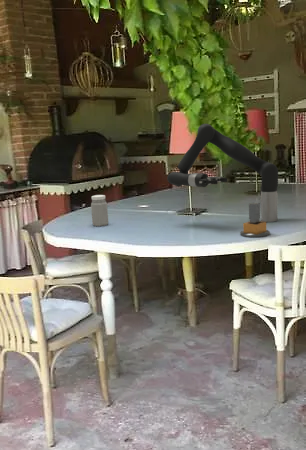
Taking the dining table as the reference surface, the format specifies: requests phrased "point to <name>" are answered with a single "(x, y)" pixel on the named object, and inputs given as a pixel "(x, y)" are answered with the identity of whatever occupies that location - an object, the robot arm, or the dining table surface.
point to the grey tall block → (254, 213)
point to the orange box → (254, 230)
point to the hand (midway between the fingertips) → (222, 181)
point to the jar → (99, 210)
